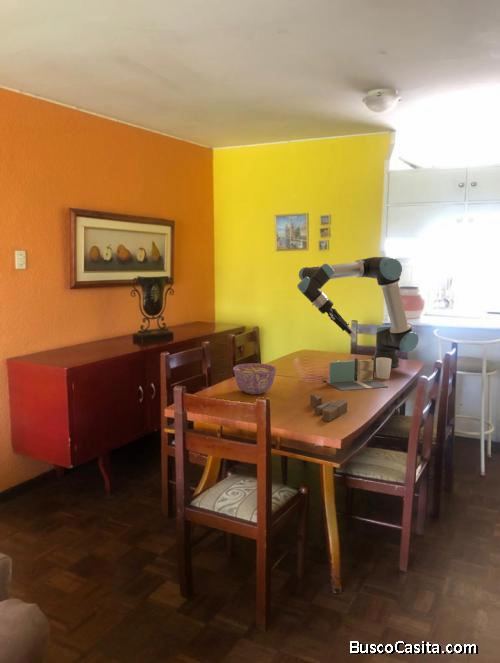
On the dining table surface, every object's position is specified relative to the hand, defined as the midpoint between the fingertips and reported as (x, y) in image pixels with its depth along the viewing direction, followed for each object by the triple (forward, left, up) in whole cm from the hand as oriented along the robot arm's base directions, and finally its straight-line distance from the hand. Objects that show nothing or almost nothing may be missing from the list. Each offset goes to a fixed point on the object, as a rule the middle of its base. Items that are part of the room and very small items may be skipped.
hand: (355, 337), depth 260 cm
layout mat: (+2, +6, -23) cm, 23 cm away
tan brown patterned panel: (-5, +2, -23) cm, 23 cm away
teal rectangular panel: (+7, +2, -22) cm, 23 cm away
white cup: (-18, -2, -23) cm, 29 cm away
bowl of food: (+55, +7, -23) cm, 60 cm away
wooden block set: (+38, +44, -23) cm, 62 cm away
